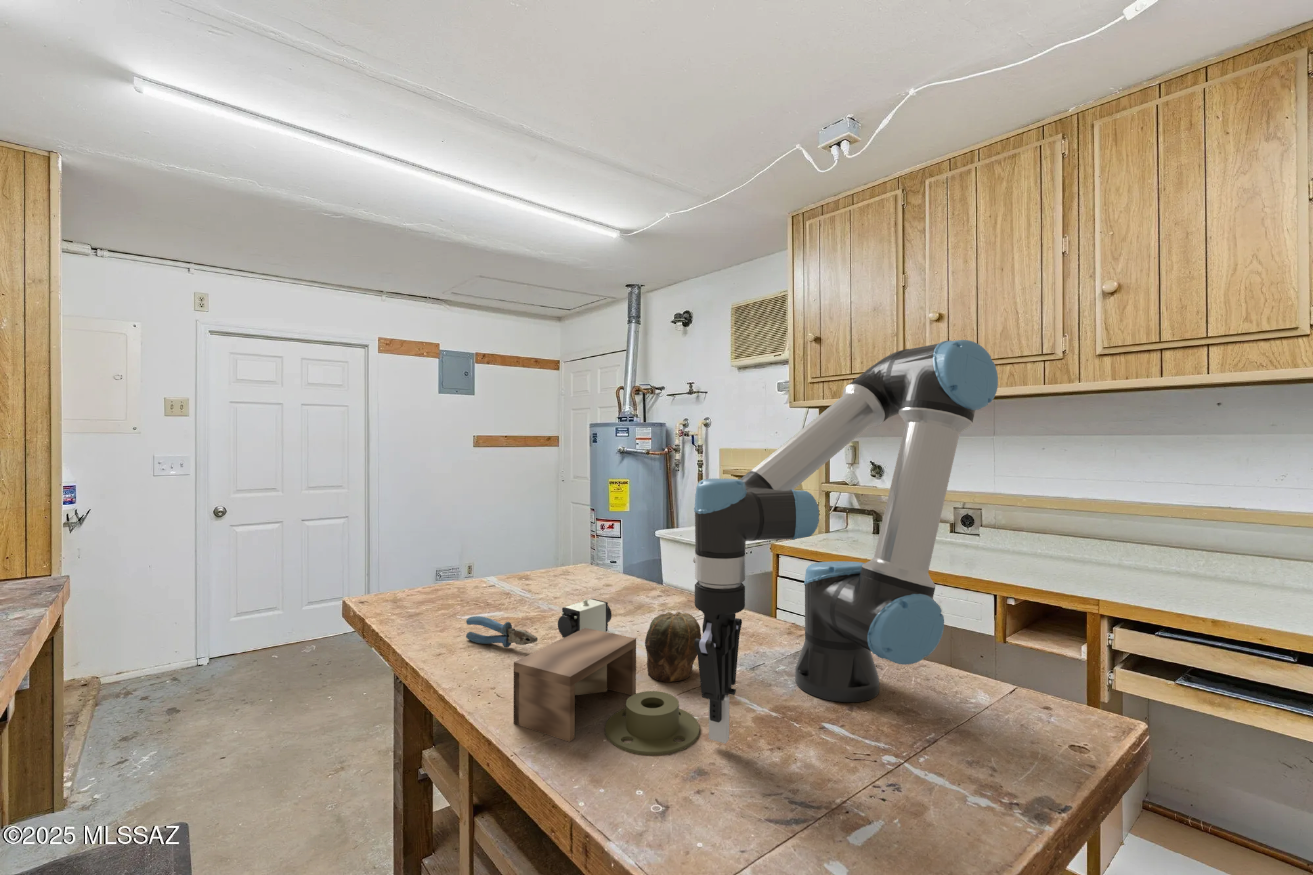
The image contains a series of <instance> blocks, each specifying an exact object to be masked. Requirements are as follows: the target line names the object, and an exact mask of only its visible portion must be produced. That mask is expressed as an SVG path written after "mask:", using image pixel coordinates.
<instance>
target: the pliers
mask: <svg viewBox="0 0 1313 875" xmlns="http://www.w3.org/2000/svg"><path fill="white" fill-rule="evenodd" d="M465 622H466V625H467V626H469V625H473V626H481V627H485V628H487V629H489V630H492V631H495V632H497V633H500V634H497V635H496V634H495V635H483V634H480V633H476V632H474V631H468V632H467V633H466V636H465V637H466V639H467V640H469V641H471V642H473V643H477V644H484V645H485V644H502V646H503V647H504V648H507V649H508V648H509V647H511V645H512V644H513V643H514V644H516V645H520V646H526V645H530V644H534V643H536V642H538V641H539V640H538V637H537V636H536V635H534V634H532V633H531V632H529V631H527V630H526V629H525V630H524V629H520V628H519V629H515V628H513V626H512V623H511V622H509V621H505V622H504V623H503V624H502V623H500V622H498V621H497V620H494V619H492V618H489V617H486V616H482V615H481V616H480V615H475V616H470V617H468V618H467V619H466V620H465Z"/></svg>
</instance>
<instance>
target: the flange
mask: <svg viewBox="0 0 1313 875" xmlns="http://www.w3.org/2000/svg"><path fill="white" fill-rule="evenodd" d="M604 730H605V731H604V732H605V737H606V738H607V740H608V741H609V742H610V743H611V744H612V745H613V746H615V747H616V748H618V749H619V750H622V751H625V752H627V753H631V754H637V755H641V756H642V755H643V756H662V755H663V756H664V755H669V754H674V753H677V752H680V751H682V750H685V749H686V748H688V747H690V746H691V745H693V744H694V743H695V742H696V740H697V739H698V738H699V735H700V725H699V721H698V720H697V719H696V718H695V717H694V715H692V714H691V713H690V712H688V711H687V710H683V709H681V708H680V702H679V699H678V698H677V697H676V696H674V695H673V694H670V693H668V692H665V691H658V690H649V691H646V690H645V691H641V692H640V691H639V692H636V693H635V694H634V695H629V697H628V698H627V699H626V701H625V708H624V709H621V710H618V711H616V712H615V713H613V714H612V715H611V716H610V717H609V718H608V720H607V721H606V723H605V727H604ZM625 740H627V741H629V742H624V741H625ZM676 740H682V741H676Z"/></svg>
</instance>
